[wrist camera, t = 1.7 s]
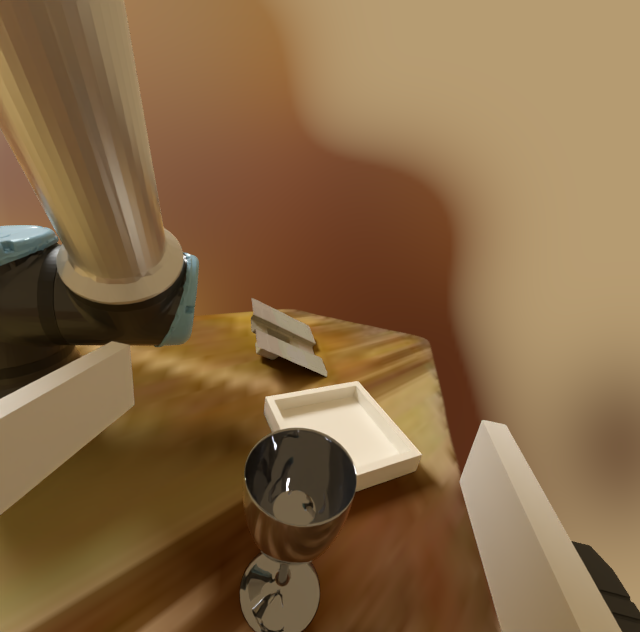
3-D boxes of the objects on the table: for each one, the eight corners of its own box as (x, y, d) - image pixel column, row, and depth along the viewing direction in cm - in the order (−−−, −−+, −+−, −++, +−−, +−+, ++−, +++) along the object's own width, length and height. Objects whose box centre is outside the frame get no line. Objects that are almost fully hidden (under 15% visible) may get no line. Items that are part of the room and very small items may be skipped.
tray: (263, 412, 49) (265, 396, 48) (354, 395, 56) (357, 381, 55) (305, 509, 36) (309, 490, 35) (415, 470, 43) (422, 454, 42)
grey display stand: (280, 347, 75) (231, 309, 66) (309, 324, 73) (263, 283, 64) (293, 403, 62) (234, 366, 53) (329, 377, 60) (274, 334, 51)
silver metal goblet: (232, 656, 25) (242, 530, 19) (236, 545, 32) (245, 428, 26) (333, 638, 27) (373, 518, 21) (316, 537, 34) (342, 426, 28)
